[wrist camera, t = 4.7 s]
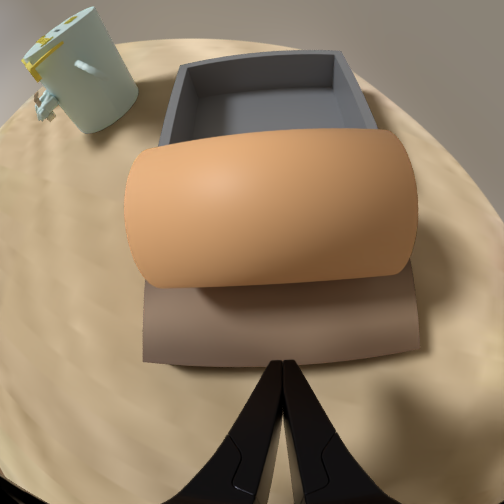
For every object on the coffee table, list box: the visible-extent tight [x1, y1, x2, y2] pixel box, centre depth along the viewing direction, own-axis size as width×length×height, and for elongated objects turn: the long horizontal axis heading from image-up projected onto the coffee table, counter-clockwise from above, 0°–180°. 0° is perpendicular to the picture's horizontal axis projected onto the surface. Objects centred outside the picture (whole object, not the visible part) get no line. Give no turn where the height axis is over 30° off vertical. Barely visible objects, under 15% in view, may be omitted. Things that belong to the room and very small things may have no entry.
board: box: [143, 258, 420, 367], centre depth 17 cm, size 12×16×2 cm
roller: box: [124, 128, 418, 288], centre depth 13 cm, size 11×7×7 cm, turn 91°
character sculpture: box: [21, 7, 138, 134], centre depth 20 cm, size 20×12×13 cm, turn 46°
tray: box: [158, 50, 378, 147], centre depth 20 cm, size 12×15×4 cm
